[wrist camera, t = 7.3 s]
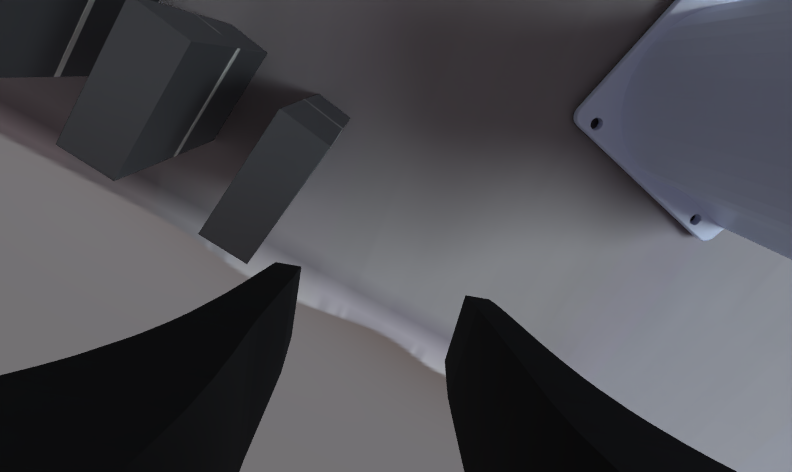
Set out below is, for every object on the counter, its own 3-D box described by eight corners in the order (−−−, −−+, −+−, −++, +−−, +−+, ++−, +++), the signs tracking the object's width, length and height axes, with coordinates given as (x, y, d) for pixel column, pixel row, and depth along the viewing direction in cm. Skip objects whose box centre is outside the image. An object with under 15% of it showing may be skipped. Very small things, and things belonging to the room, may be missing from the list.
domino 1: (268, 53, 16) (192, 41, 10) (213, 140, 18) (115, 181, 11) (231, 24, 16) (127, -7, 9) (178, 116, 17) (54, 143, 11)
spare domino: (350, 118, 17) (331, 147, 11) (294, 196, 19) (247, 264, 12) (318, 93, 17) (279, 107, 10) (263, 175, 18) (197, 233, 12)
